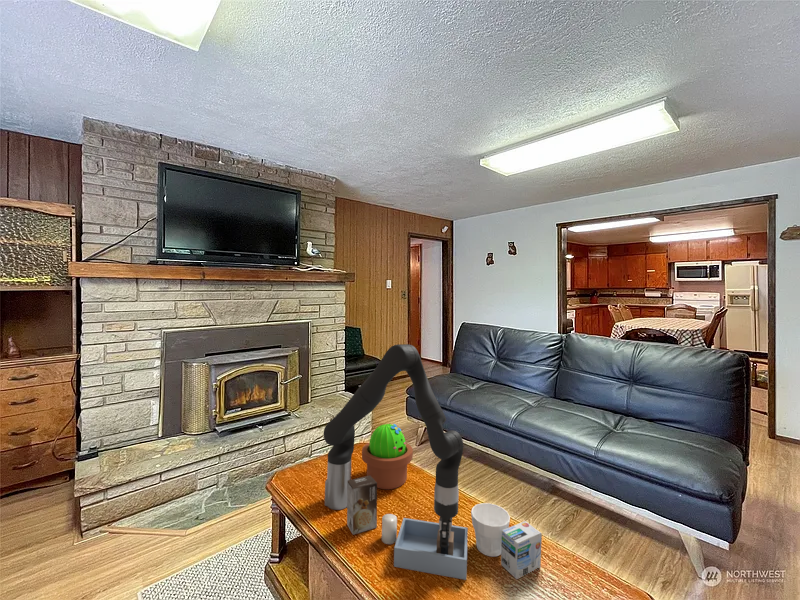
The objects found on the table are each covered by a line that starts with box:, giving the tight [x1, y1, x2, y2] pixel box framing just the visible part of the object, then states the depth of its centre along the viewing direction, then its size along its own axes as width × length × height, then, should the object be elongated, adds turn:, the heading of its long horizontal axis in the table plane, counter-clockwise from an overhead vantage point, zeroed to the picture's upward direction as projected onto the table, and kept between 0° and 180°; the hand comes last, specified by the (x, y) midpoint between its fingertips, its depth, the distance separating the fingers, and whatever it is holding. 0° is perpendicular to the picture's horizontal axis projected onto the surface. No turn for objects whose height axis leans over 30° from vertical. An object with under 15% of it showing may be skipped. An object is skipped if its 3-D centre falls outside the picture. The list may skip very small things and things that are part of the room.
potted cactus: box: [361, 422, 414, 490], centre depth 156 cm, size 22×22×25 cm
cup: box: [470, 502, 511, 557], centre depth 115 cm, size 12×12×11 cm
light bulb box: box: [500, 520, 543, 580], centre depth 107 cm, size 11×7×11 cm, turn 119°
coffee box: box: [346, 475, 378, 535], centre depth 124 cm, size 9×6×16 cm
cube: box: [436, 529, 454, 556], centre depth 110 cm, size 5×5×5 cm
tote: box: [393, 517, 469, 581], centre depth 111 cm, size 22×15×6 cm
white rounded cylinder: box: [381, 513, 398, 545], centre depth 118 cm, size 5×5×7 cm
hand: (445, 550), depth 110 cm, fingers closed on cube, 4 cm apart
